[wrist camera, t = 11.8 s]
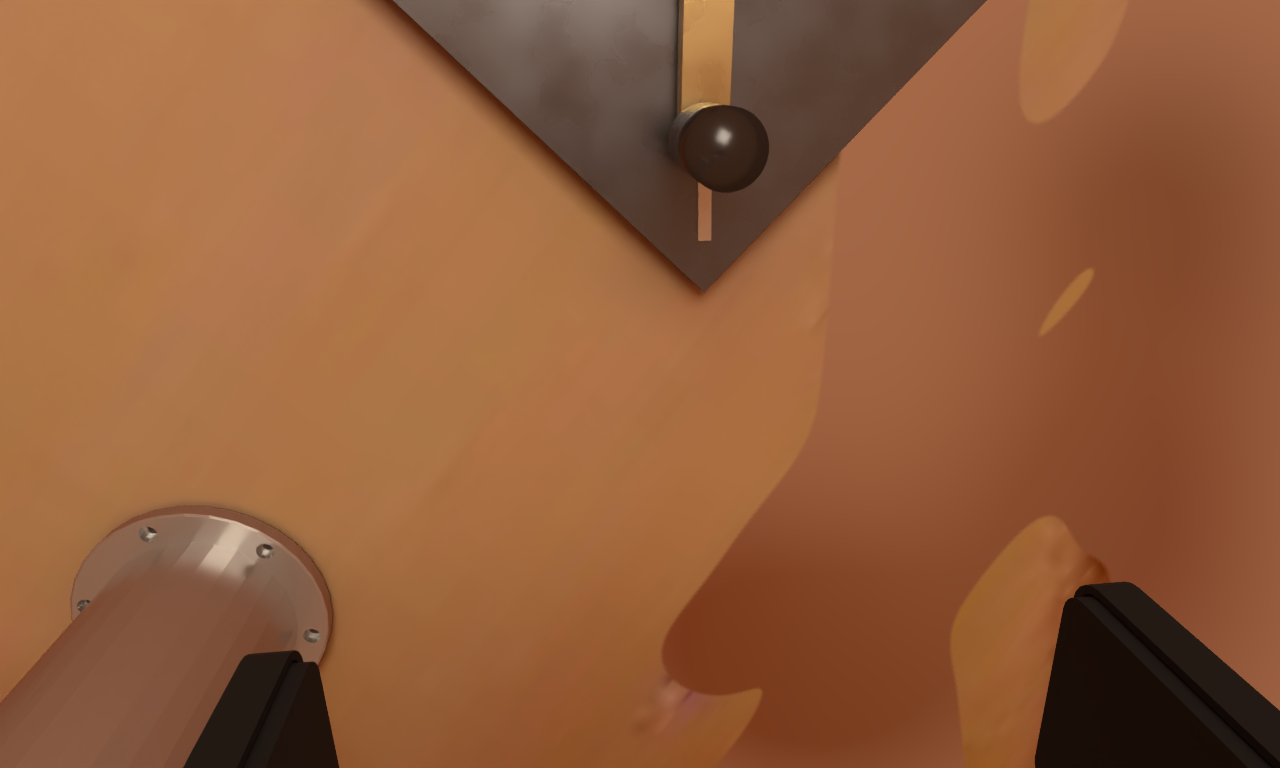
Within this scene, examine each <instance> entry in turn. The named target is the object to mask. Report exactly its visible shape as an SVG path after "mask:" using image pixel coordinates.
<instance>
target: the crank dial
mask: <svg viewBox="0 0 1280 768" xmlns="http://www.w3.org/2000/svg"><path fill="white" fill-rule="evenodd" d="M733 23H734V0H679V23H678V69H677V114H676V119H675V120H674V122H673V124H672V126H671V129H670V133H669V149H670V153H671V156H672V158H673V160H674V161H675V163H676V164H677V166H678V167H679V168H680V169H681V170H683V171H684V172H685V173H687V174H688V175H690V176H691V177H692V178H694V179H695V180H696V181H698V182H699V183H701V184H702V185H703V186H705V187H706V188H708V189H710V190H713V191H716V192H721V193H731V192H736V191H739V190H742V189H744V188H746V187H748V186H749V185H751V184H752V183H753V182H754V181H755V180H756V179H757V178H758V177H759V176H760V174H761V173H762V171H763V169H764V167H765V165H766V163H767V159H768V155H769V140H768V136H767V132H766V130H765V128H764V126H763V124H762V123H761V121H760V120H759V119H758V118H757V117H756V116H755V115H754V114H753V113H751V112H750V111H748V110H746V109H743V108H741V107H736V106H730V92H731V69H732V46H733Z"/></svg>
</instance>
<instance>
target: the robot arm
mask: <svg viewBox="0 0 1280 768" xmlns="http://www.w3.org/2000/svg"><path fill="white" fill-rule="evenodd" d="M70 600H71V619H72V623H71V624H70V625H69V626H68V627H67V628H66V630H65V631H64V632H63V633H62V634H61V635H60V636H59V637H58V639H57V640H56V641H55V642H54V643H53V644H52V645H51V646H50V648H49V649H48V650H47V651H46V652H45V653H44V654H43V655H42V657H41V658H40V659H39V660H38V661H37V662H36V663H35V664H34V666H33V667H32V668H31V669H30V670H29V671H28V672H27V673H26V675H25V676H24V677H23V678H22V679H21V680H20V681H19V682H18V684H17V685H16V686H15V687H14V688H13V689H12V690H11V691H10V693H9V694H8V695H7V696H6V697H5V698H4V699H3V700H2V702H1V703H0V768H339V765H338V760H337V755H336V750H335V745H334V740H333V735H332V730H331V725H330V721H329V716H328V711H327V706H326V701H325V696H324V691H323V686H322V681H321V677H320V672H319V668H318V664H319V662H320V660H321V658H322V656H323V654H324V651H325V649H326V646H327V643H328V640H329V637H330V634H331V627H332V614H333V613H332V607H331V601H330V595H329V592H328V590H327V587H326V585H325V582H324V580H323V577H322V575H321V574H320V572H319V571H318V569H317V568H316V566H315V565H314V563H313V562H312V560H311V559H310V558H309V557H308V556H307V554H306V553H305V552H304V551H303V550H302V549H301V548H300V547H299V546H298V545H297V544H296V543H295V542H294V541H292V540H291V539H289V538H288V537H287V536H285V535H284V534H282V533H281V532H280V531H278V530H277V529H275V528H273V527H271V526H269V525H267V524H265V523H263V522H261V521H259V520H257V519H255V518H253V517H250V516H247V515H244V514H241V513H238V512H234V511H231V510H227V509H220V508H214V507H207V506H177V507H171V508H165V509H159V510H154V511H151V512H148V513H146V514H143V515H140V516H137V517H135V518H132V519H130V520H129V521H127V522H125V523H124V524H122V525H120V526H119V527H117V528H116V529H114V530H113V531H111V532H110V533H109V534H108V535H107V536H106V537H105V538H104V539H103V540H102V541H101V542H100V543H99V544H98V545H96V547H95V548H94V549H93V550H92V551H91V553H90V554H89V555H88V556H87V557H86V559H85V560H84V561H83V563H82V565H81V567H80V569H79V571H78V573H77V575H76V577H75V579H74V584H73V589H72V594H71V598H70ZM1035 768H1280V711H1279V710H1278V709H1277V708H1276V707H1275V706H1274V705H1272V704H1271V703H1270V702H1269V701H1268V700H1267V699H1266V698H1264V697H1263V696H1262V695H1261V694H1260V693H1259V692H1258V691H1256V690H1255V689H1254V688H1253V687H1252V686H1251V685H1250V684H1248V683H1247V682H1246V681H1245V680H1244V679H1243V678H1242V677H1240V676H1239V675H1238V674H1237V673H1236V672H1235V671H1233V670H1232V669H1231V668H1230V667H1229V666H1228V665H1227V664H1226V663H1224V662H1223V661H1222V660H1221V659H1220V658H1219V657H1218V656H1216V655H1215V654H1214V653H1213V652H1212V651H1211V650H1210V649H1208V648H1207V647H1206V646H1205V645H1204V644H1203V643H1202V642H1200V641H1199V640H1198V639H1197V638H1195V636H1194V635H1192V634H1191V633H1190V632H1189V631H1188V630H1187V629H1185V628H1184V627H1183V626H1182V625H1181V624H1180V623H1179V622H1177V621H1176V620H1175V619H1174V618H1173V617H1172V616H1171V615H1169V614H1168V613H1167V612H1166V611H1165V610H1164V609H1163V608H1161V607H1160V606H1159V605H1158V604H1157V603H1156V602H1155V601H1153V600H1152V599H1151V598H1150V597H1149V596H1147V594H1145V593H1144V592H1143V591H1142V590H1141V589H1140V588H1138V587H1137V586H1135V585H1134V584H1132V583H1129V582H1115V583H1103V584H1091V585H1084V586H1081V587H1079V589H1078V590H1077V591H1076V592H1075V595H1074V598H1070V599H1068V600H1067V601H1066V602H1065V605H1064V608H1063V613H1062V618H1061V623H1060V628H1059V634H1058V639H1057V644H1056V649H1055V655H1054V660H1053V665H1052V670H1051V676H1050V681H1049V686H1048V692H1047V697H1046V702H1045V707H1044V713H1043V718H1042V723H1041V728H1040V734H1039V739H1038V744H1037V750H1036V755H1035Z"/></svg>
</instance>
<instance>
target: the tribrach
mask: <svg viewBox="0 0 1280 768" xmlns="http://www.w3.org/2000/svg"><path fill="white" fill-rule="evenodd" d="M393 1H394V2H395V3H396V4H397V5H398V6H399V7H400V8H401V9H403V10H404V11H405V12H406V13H407V14H408V15H409V16H410V17H411V18H412V19H413V20H414V21H415V22H416V23H417V24H418V25H420V26H421V27H422V28H423V29H424V30H425V31H426V32H427V33H428V34H429V35H430V36H431V37H432V38H433V39H434V40H436V41H437V42H438V43H439V44H440V45H441V46H442V47H443V48H444V49H445V50H446V51H447V52H448V53H449V54H450V55H452V56H453V57H454V58H455V59H456V60H457V61H458V62H459V63H460V64H461V65H462V66H463V67H464V68H465V69H466V70H468V71H469V72H470V73H471V74H472V75H473V76H474V77H475V78H476V79H477V80H478V81H479V82H480V83H481V84H482V85H483V86H485V87H486V88H487V89H488V90H489V91H490V92H491V93H492V94H493V95H494V96H495V97H496V98H497V99H498V100H499V101H501V102H502V103H503V104H504V105H505V106H506V107H507V108H508V109H509V110H510V111H511V112H512V113H513V114H514V115H515V116H517V117H518V118H519V119H520V120H521V121H522V122H523V123H524V124H525V125H526V126H527V127H528V128H529V129H530V130H531V131H533V132H534V133H535V134H536V135H537V136H538V137H539V138H540V139H541V140H542V141H543V142H544V143H545V144H546V145H547V146H548V147H550V148H551V149H552V150H553V151H554V152H555V153H556V154H557V155H558V156H559V157H560V158H561V159H562V160H563V161H564V162H566V163H567V164H568V165H569V166H570V167H571V168H572V169H573V170H574V171H575V172H576V173H577V174H578V175H579V176H580V177H582V178H583V179H584V180H585V181H586V182H587V183H588V184H589V185H590V186H591V187H592V188H593V189H594V190H595V191H596V192H597V193H599V194H600V195H601V196H602V197H603V198H604V199H605V200H606V201H607V202H608V203H609V204H610V205H611V206H612V207H613V208H615V209H616V210H617V211H618V212H619V213H620V214H621V215H622V216H623V217H624V218H625V219H626V220H627V221H628V222H629V223H631V224H632V225H633V226H634V227H635V228H636V229H637V230H638V231H639V232H640V233H641V234H642V235H643V236H644V237H645V238H647V239H648V240H649V241H650V242H651V243H652V244H653V245H654V246H655V247H656V248H657V249H658V250H659V251H660V252H661V253H662V254H664V255H665V256H666V257H667V258H668V259H669V260H670V261H671V262H672V263H673V264H674V265H675V266H676V267H677V268H678V269H680V270H681V271H682V272H683V273H684V274H685V275H686V276H687V277H688V278H689V279H690V280H691V281H692V282H693V283H694V284H696V285H697V286H698V287H699V288H700V289H701V290H702V291H703V292H705V291H706V290H707V289H708V288H709V287H710V286H711V285H712V283H713V282H714V281H715V280H716V279H717V278H718V277H719V276H720V275H721V274H722V273H723V272H724V271H725V270H726V269H727V268H728V267H729V266H730V265H731V264H732V263H733V262H734V261H735V260H736V259H737V258H738V257H739V256H740V255H741V254H742V252H743V251H744V250H745V249H746V248H747V247H748V246H749V245H750V244H751V243H752V242H753V241H754V240H755V239H756V238H757V237H758V236H759V235H760V234H761V233H762V232H763V231H764V230H765V229H766V228H767V227H768V226H769V225H770V224H771V223H772V221H773V220H774V219H775V218H776V217H777V216H778V215H779V214H780V213H781V212H782V211H783V210H784V209H785V208H786V207H787V206H788V205H789V204H790V203H791V202H792V201H793V200H794V199H795V198H796V197H797V196H798V195H799V194H800V193H801V192H802V190H803V189H804V188H805V187H806V186H807V185H808V184H809V183H810V182H811V181H812V180H813V179H814V178H815V177H816V176H817V175H818V174H819V173H820V172H821V171H822V170H823V169H824V168H825V167H826V166H827V165H828V164H829V163H830V162H831V161H832V159H833V158H834V157H835V156H836V155H837V154H838V153H839V152H840V151H841V150H842V149H843V148H844V147H845V146H846V145H847V144H848V143H849V142H850V141H851V140H852V139H853V138H854V137H855V136H856V135H857V134H858V133H859V132H860V130H861V129H862V128H863V127H864V126H865V125H866V124H867V123H868V122H869V121H870V120H871V119H872V118H873V117H874V116H875V115H876V114H877V113H878V112H879V111H880V110H881V109H882V108H883V107H884V106H885V104H887V103H888V102H889V101H890V100H891V98H892V97H893V96H894V95H895V94H896V93H897V92H898V91H899V90H900V89H901V88H902V87H903V86H904V85H905V84H906V83H907V82H908V81H909V80H910V79H911V78H912V77H913V76H914V75H915V74H916V73H917V72H918V70H920V68H922V66H923V65H924V64H925V63H926V62H927V61H928V60H929V59H930V58H931V57H932V56H933V55H934V54H935V53H936V52H937V51H938V50H939V49H940V48H941V47H942V46H943V45H944V44H945V43H946V42H947V41H948V40H949V39H950V37H951V36H952V35H953V34H954V33H955V32H956V31H957V30H958V29H959V28H960V27H961V26H962V25H963V24H964V23H965V22H966V21H967V20H968V19H969V18H970V17H971V16H972V15H973V14H974V13H975V12H976V11H977V9H979V8H980V6H982V4H983V3H984V2H985V1H986V0H734V23H733V46H732V69H731V92H730V106H736V107H741V108H743V109H746V110H748V111H750V112H751V113H753V114H754V115H755V116H756V117H757V118H758V119H759V120H760V121H761V123H762V124H763V126H764V128H765V130H766V132H767V136H768V140H769V155H768V159H767V163H766V165H765V167H764V169H763V171H762V173H761V174H760V176H759V177H758V178H757V179H756V180H755V181H754V182H753V183H752V184H751V185H749V186H748V187H746V188H744V189H742V190H739V191H736V192H731V193H721V192H716V191H713V190H710V189H708V188H706V187H705V186H703V185H702V184H701V183H699V182H698V181H696V180H695V179H694V178H692V177H691V176H690V175H688V174H687V173H685V172H684V171H683V170H681V169H680V168H679V167H678V166H677V164H676V163H675V161H674V160H673V158H672V156H671V153H670V149H669V133H670V129H671V126H672V124H673V122H674V120H675V119H676V114H677V69H678V23H679V0H393Z"/></svg>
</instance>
